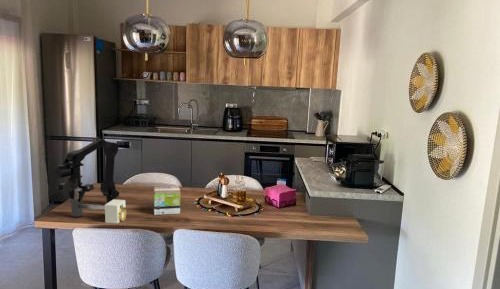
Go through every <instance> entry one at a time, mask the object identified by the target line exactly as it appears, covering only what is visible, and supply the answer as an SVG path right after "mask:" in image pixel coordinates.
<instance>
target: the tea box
mask: <svg viewBox="0 0 500 289" xmlns="http://www.w3.org/2000/svg"><path fill="white" fill-rule="evenodd" d="M153 213H154V214H153V215H154V216H159V215H179V214H181V189H180V185H169V186H165V185H163V186H154V187H153Z"/></svg>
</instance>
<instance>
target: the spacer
mask: <svg viewBox="0 0 500 289" xmlns="http://www.w3.org/2000/svg"><path fill="white" fill-rule="evenodd" d="M123 210H124V215H123V218H122V211H123ZM127 211H128V210H127V207H126V208H125V207H121V208H120V210H119V214H118V215H119V220H120V222H124V221H125V220H126V218H127V214H128V212H127Z"/></svg>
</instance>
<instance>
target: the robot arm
mask: <svg viewBox="0 0 500 289" xmlns="http://www.w3.org/2000/svg"><path fill="white" fill-rule="evenodd" d="M100 148H103V153H104V155H105V168H104V180H103V182H100V188H99V190H100V192H101V193H102V195H103V196H104V197H105V201H106V203H105V204H107V203H109V202H110V201H112V200H113V199H116V200H117V198H118V197H119V196H120V192H119V191H118V190H117V189H116V183H115V181H114V172H115V158H116V156H117V154H118V151H119V144H118V143H117V142H113V141H108V140H105V139H103V138H97V139H95V140H94V141H92V142H91V143H89V144H87V145H85V146H83V147H82V148H80V149H77V150H75V149H74V150H72V151H69V152H68V153H67V154H66V157H65V158H64V161H63V163H62V164H61V165H60V164H59V165H56V168H55V169H54V171H53V172H54V177H55V178H57V179H62V178H63V179H64V178H67V181H65V182H61V183H59V184H58V185H57V190H58V191H63V192H66V193H67V194H68V196H69V198H70V200H71V199H72V198H74V197H75V190H77V189H78V191H77V194H78V197H79V202H81V201H82V202H83V198H84V195H85V194H86V192H90V191H92V190H95V186H94V184H92V183H86V184H84V185H83V182H82V178H83V175H82V173H81V167H83V166H84V163H83V162H82V161H84V160H85V158H86V156H88V155H90V154H91V153H93V152H95V151H96V150H98V149H100Z"/></svg>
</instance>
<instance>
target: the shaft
mask: <svg viewBox="0 0 500 289" xmlns="http://www.w3.org/2000/svg"><path fill="white" fill-rule="evenodd" d="M70 207H71V217H78V218H79V217H81V216H82V215H83V209H85V210H86V209H87V210H101V211H105V205H102V204H101V205H100V204H88V203H87V204H84V203H83V200H82V201H81V202H79V196H74V198H72V199H70Z"/></svg>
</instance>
